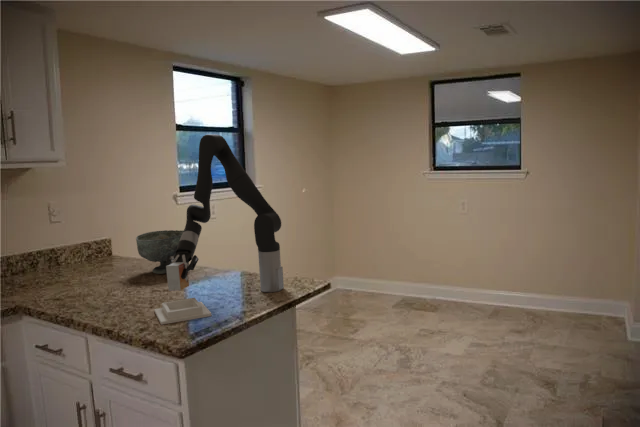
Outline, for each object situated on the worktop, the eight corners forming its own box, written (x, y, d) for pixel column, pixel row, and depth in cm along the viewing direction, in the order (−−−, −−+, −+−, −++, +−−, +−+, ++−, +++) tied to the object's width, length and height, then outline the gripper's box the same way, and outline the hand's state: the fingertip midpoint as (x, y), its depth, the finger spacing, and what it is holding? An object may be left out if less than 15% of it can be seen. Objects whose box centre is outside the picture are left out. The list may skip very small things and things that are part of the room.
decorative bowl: (186, 262, 293) (182, 226, 290) (198, 271, 270) (194, 233, 267) (136, 271, 281) (131, 234, 278) (144, 281, 259) (139, 241, 256)
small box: (180, 291, 215) (178, 265, 214) (168, 291, 216) (165, 265, 215) (189, 285, 223) (187, 261, 221) (177, 285, 224) (174, 261, 223)
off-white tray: (201, 304, 211) (200, 295, 211) (211, 315, 195) (210, 306, 194) (154, 311, 204) (153, 302, 203) (161, 324, 187) (160, 315, 187)
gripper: (169, 239, 226) (156, 273, 216) (199, 238, 222) (187, 273, 212) (176, 249, 232) (164, 282, 222) (206, 248, 228) (195, 282, 218)
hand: (175, 278), depth 217 cm, fingers closed on small box, 6 cm apart
